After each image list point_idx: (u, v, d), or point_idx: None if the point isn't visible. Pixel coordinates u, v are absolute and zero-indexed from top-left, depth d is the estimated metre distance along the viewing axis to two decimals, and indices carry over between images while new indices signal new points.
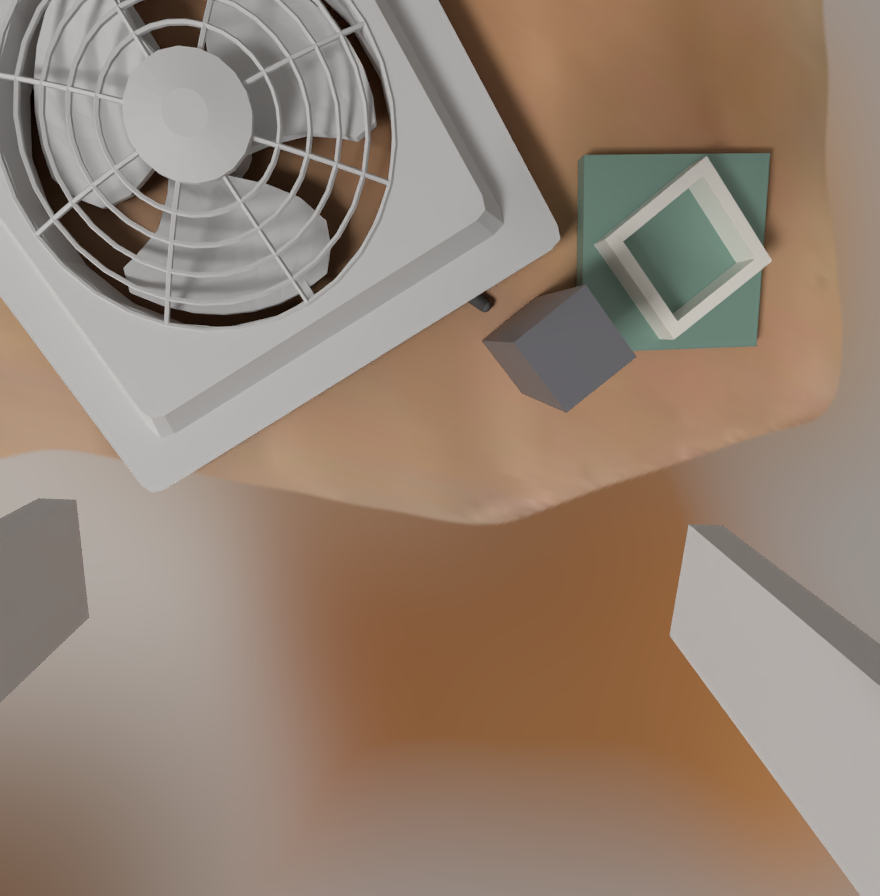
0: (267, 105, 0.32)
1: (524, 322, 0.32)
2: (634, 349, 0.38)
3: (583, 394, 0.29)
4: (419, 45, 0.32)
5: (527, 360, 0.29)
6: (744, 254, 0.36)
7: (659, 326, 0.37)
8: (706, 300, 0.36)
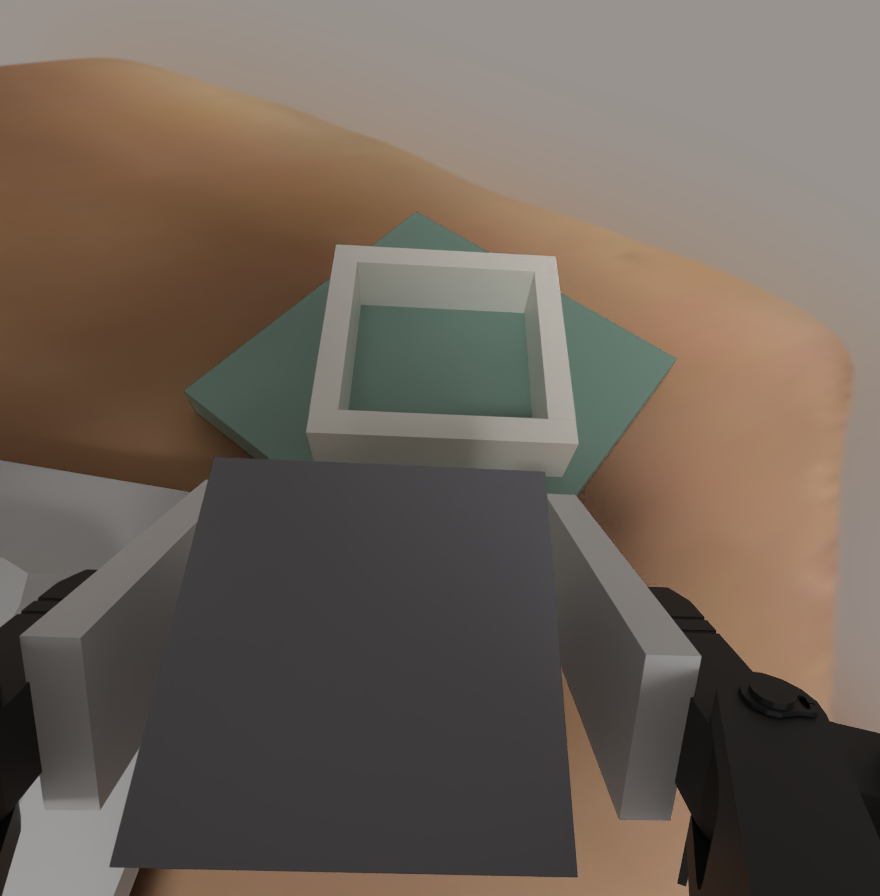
0: None
1: None
2: None
3: (549, 737, 0.06)
4: None
5: (232, 865, 0.06)
6: (518, 286, 0.20)
7: (536, 455, 0.17)
8: (547, 359, 0.18)
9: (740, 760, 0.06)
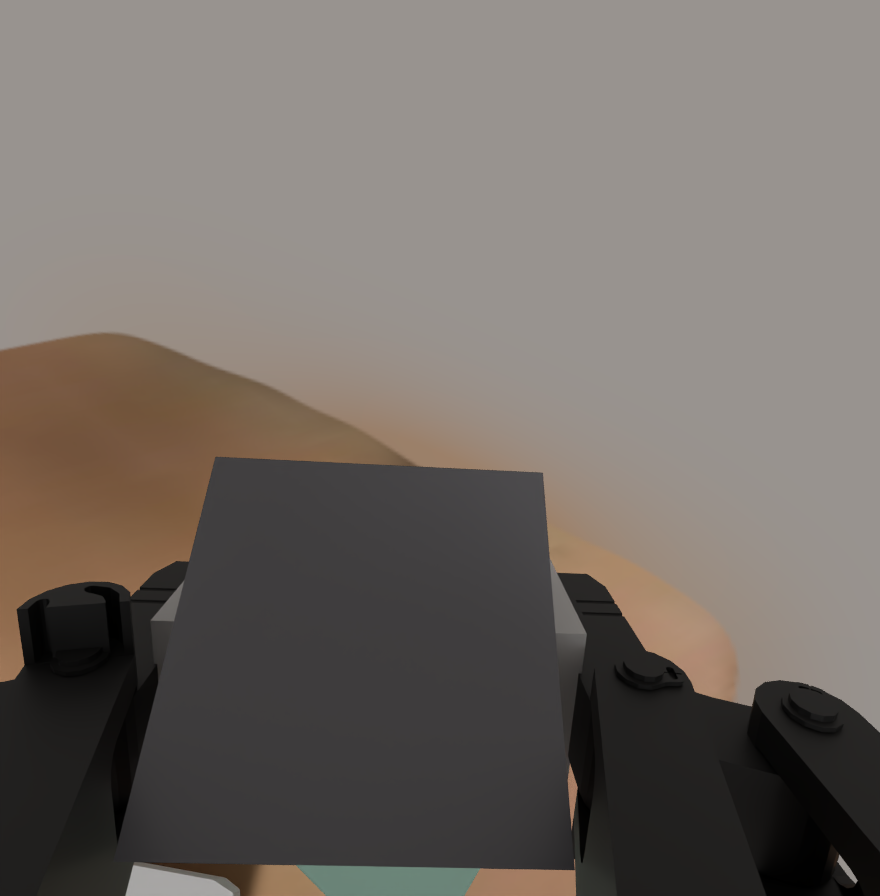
0: None
1: None
2: (471, 878, 0.21)
3: (547, 734, 0.06)
4: None
5: (235, 859, 0.06)
6: None
7: None
8: None
9: (612, 735, 0.06)
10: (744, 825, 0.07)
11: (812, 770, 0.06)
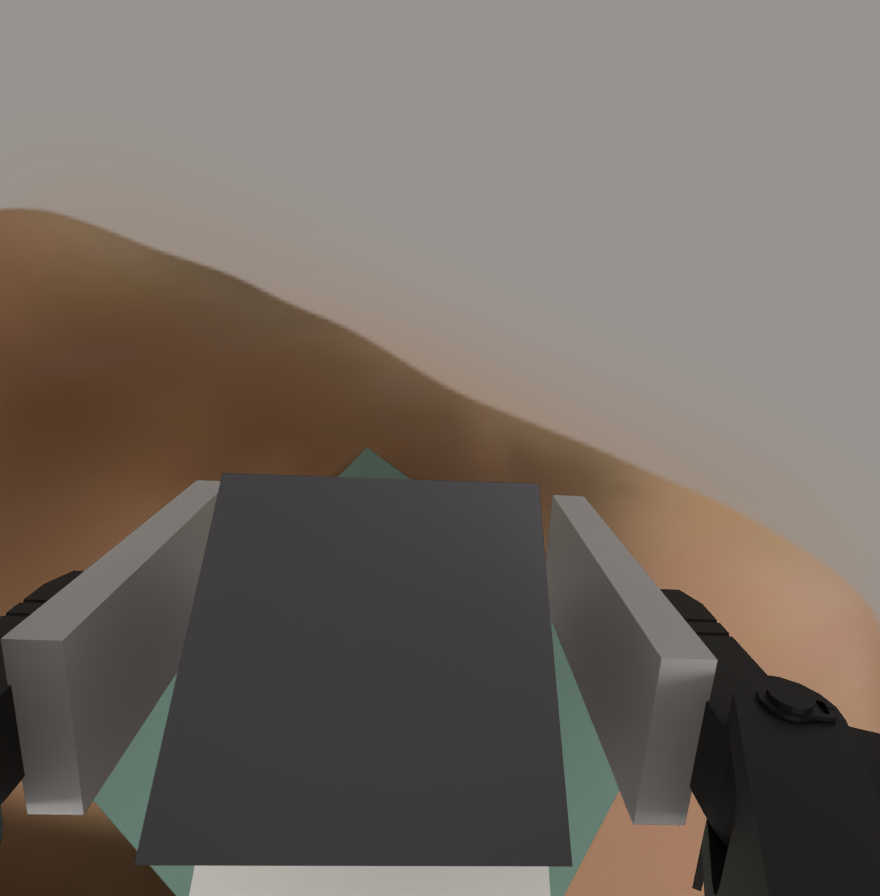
0: None
1: None
2: None
3: (544, 737, 0.07)
4: None
5: (249, 861, 0.06)
6: None
7: None
8: None
9: (758, 764, 0.06)
10: None
11: None
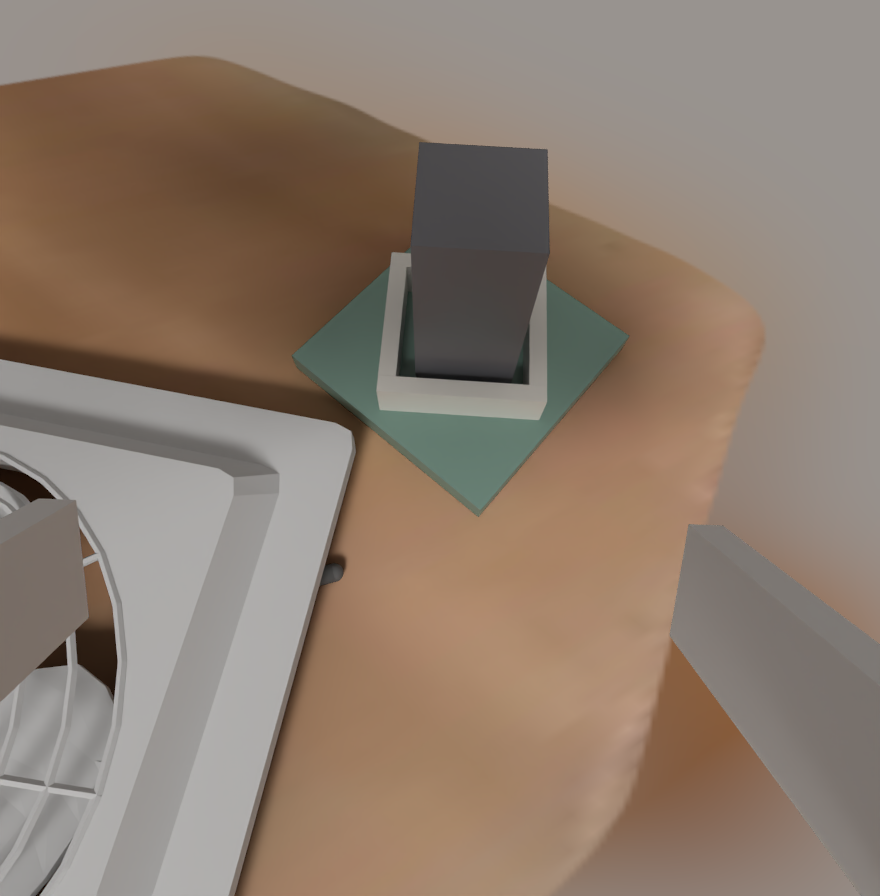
0: None
1: None
2: (527, 452, 0.27)
3: (543, 223, 0.19)
4: (54, 414, 0.26)
5: (445, 248, 0.19)
6: None
7: (521, 407, 0.26)
8: (532, 343, 0.27)
9: None
10: None
11: None
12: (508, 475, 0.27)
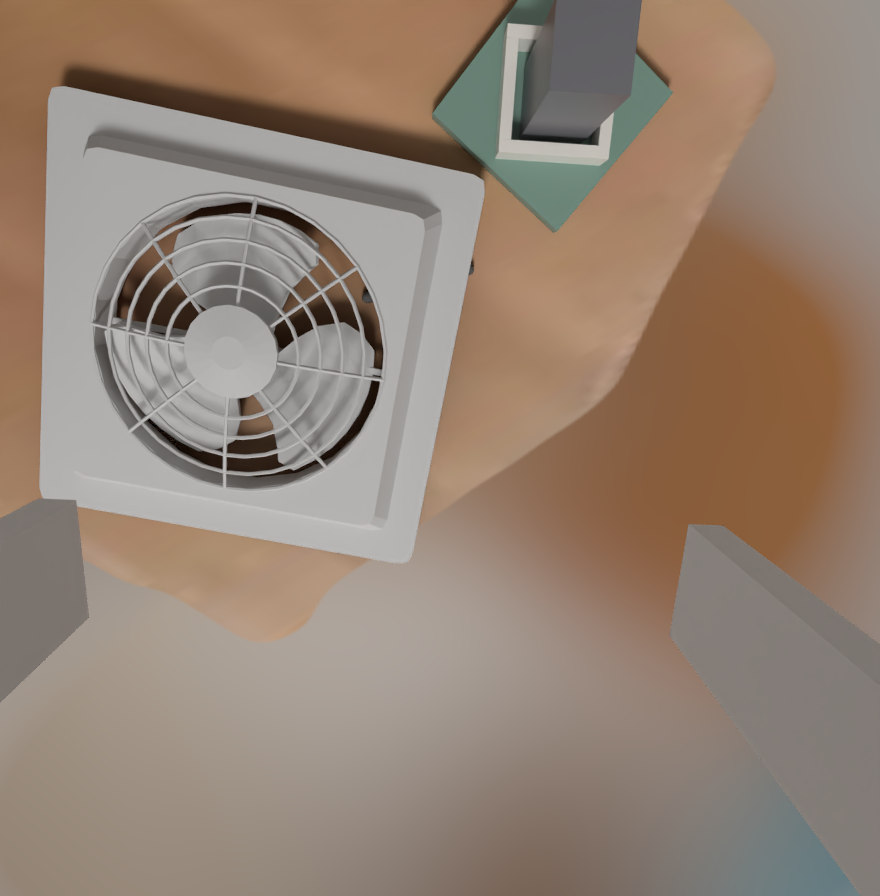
0: (254, 298, 0.41)
1: (539, 78, 0.34)
2: (589, 190, 0.42)
3: (630, 70, 0.31)
4: (291, 168, 0.40)
5: (569, 91, 0.31)
6: None
7: (590, 160, 0.40)
8: None
9: None
10: None
11: None
12: (576, 207, 0.42)
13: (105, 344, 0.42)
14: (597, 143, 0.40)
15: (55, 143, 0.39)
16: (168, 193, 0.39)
